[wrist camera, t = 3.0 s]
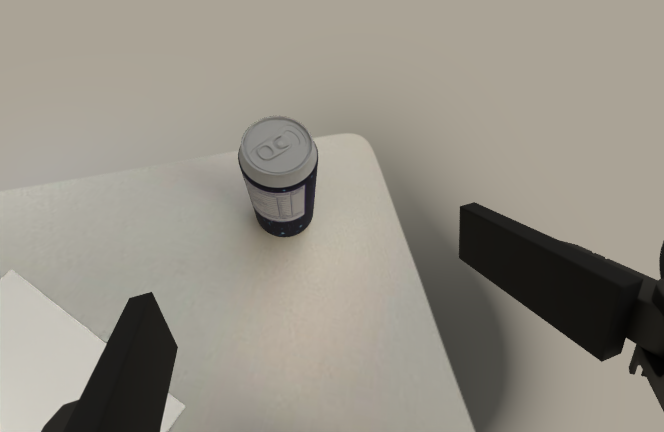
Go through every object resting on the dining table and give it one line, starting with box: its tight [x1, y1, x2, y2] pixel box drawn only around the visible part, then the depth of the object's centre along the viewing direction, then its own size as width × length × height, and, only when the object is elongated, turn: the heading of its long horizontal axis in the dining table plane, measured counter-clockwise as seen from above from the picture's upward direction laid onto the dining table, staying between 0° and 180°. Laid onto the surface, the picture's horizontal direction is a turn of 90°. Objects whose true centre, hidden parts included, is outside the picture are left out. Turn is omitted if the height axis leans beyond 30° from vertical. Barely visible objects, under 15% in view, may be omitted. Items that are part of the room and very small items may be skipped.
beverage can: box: [238, 116, 318, 237], centre depth 27 cm, size 6×6×12 cm
